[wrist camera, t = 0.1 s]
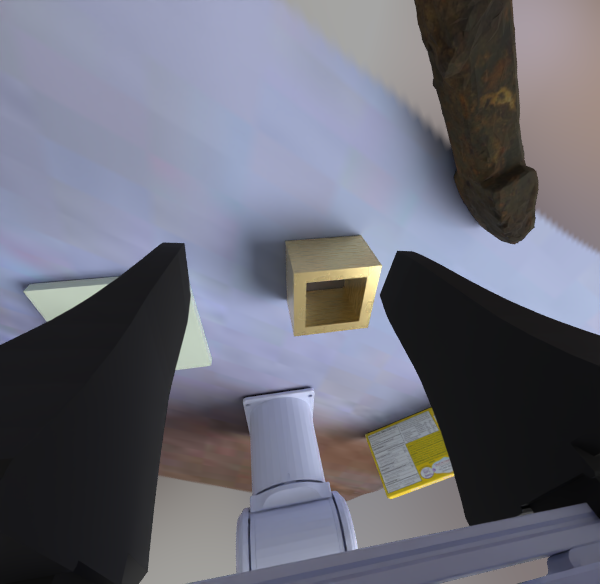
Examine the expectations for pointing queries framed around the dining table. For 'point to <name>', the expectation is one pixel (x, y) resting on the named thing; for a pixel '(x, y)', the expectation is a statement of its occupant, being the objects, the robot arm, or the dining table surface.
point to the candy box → (410, 454)
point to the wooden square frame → (325, 267)
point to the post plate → (68, 294)
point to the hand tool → (482, 109)
